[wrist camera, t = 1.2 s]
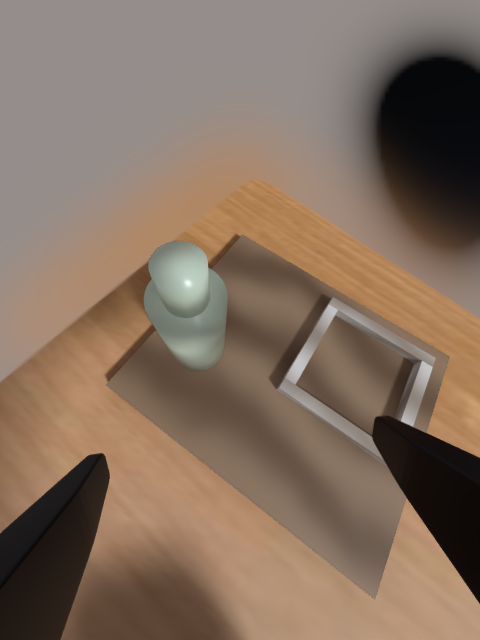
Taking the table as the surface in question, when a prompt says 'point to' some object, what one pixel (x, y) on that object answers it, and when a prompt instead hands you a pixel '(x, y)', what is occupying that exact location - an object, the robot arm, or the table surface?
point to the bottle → (187, 304)
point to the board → (296, 406)
